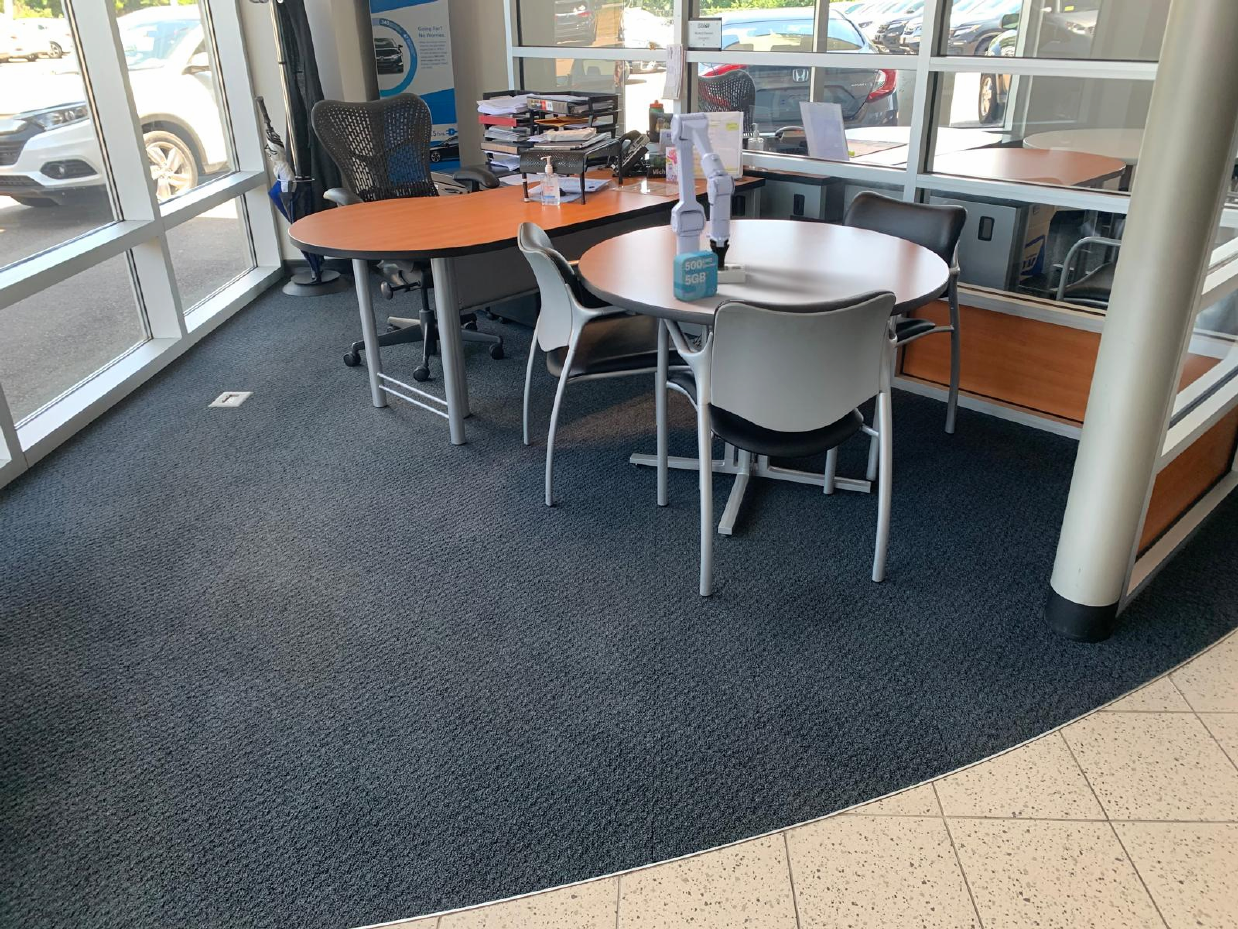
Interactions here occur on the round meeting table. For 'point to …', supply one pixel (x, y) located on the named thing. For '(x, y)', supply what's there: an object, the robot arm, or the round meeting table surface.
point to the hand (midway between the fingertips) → (718, 265)
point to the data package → (695, 275)
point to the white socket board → (732, 274)
